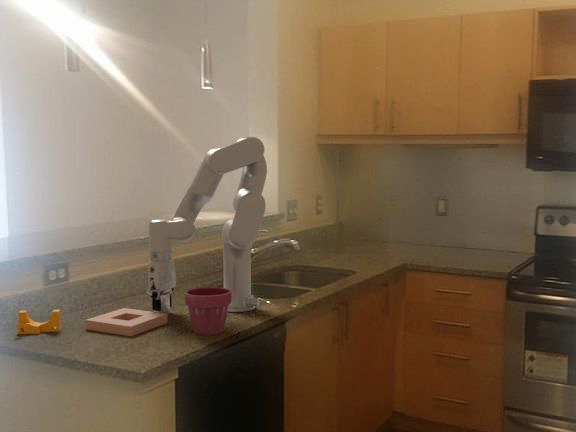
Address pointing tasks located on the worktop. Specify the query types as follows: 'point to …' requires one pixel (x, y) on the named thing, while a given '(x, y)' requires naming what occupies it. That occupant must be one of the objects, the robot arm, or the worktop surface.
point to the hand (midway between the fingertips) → (162, 308)
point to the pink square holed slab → (126, 321)
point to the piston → (164, 301)
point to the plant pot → (208, 309)
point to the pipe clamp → (32, 327)
